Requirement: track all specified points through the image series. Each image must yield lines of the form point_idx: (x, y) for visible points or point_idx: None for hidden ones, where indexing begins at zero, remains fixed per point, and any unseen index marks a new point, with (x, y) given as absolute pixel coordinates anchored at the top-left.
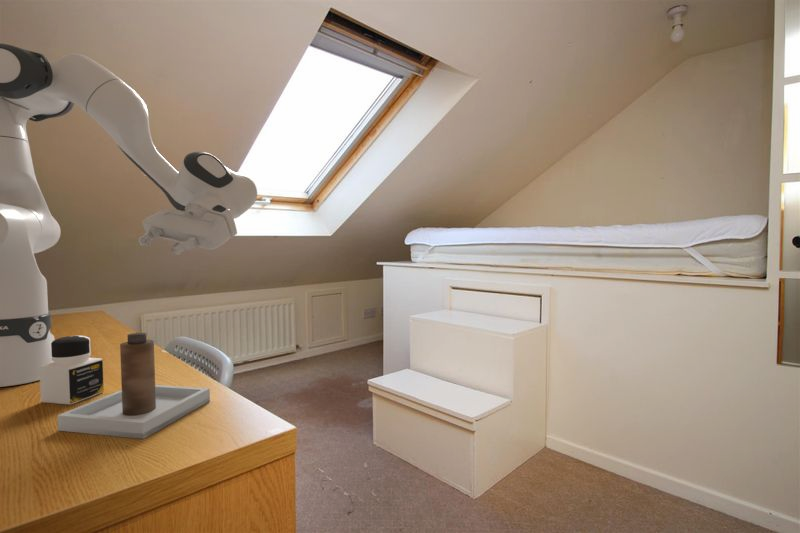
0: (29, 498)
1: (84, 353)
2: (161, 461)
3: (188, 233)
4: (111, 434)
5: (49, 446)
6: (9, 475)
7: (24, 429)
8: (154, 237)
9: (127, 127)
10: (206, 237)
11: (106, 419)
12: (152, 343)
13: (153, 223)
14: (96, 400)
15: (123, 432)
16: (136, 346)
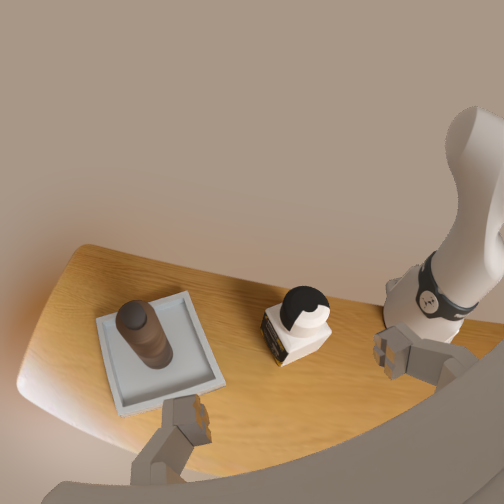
0: (97, 254)
1: (282, 323)
2: (60, 309)
3: (179, 484)
4: None
5: (159, 283)
6: (136, 256)
7: (220, 285)
8: (435, 391)
9: None
10: (60, 483)
11: None
12: (118, 331)
13: (485, 362)
14: (199, 326)
15: None
16: (119, 309)
